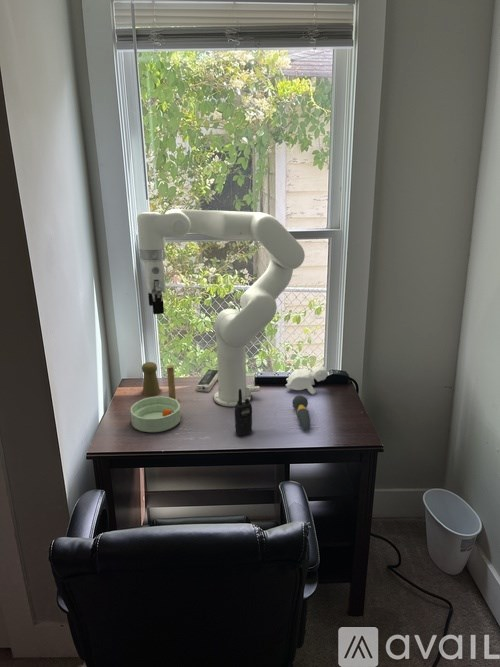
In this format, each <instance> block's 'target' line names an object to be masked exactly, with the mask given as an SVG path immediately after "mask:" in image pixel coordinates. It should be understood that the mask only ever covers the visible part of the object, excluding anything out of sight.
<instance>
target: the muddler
mask: <svg viewBox="0 0 500 667" xmlns="http://www.w3.org/2000/svg"><path fill="white" fill-rule="evenodd" d="M166 372H167V387H168V388H167V389H168V397H170V398H173V399H175V400H177V401H178V398H177V396H176V383H175V382H176V379H175V367H174V365H167V366H166Z"/></svg>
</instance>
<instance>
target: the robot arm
mask: <svg viewBox="0 0 500 667" xmlns="http://www.w3.org/2000/svg"><path fill="white" fill-rule="evenodd" d="M136 221H137V222H136V223H137V234H138V235H137V236H138V248H139V250H138V251H139V258H140V259H139V260H140V261H141V262H143V264H144V274H145V285H146V289H147V290H148V294H147V295H148V297H147V298H148V306H150V307H152V314H153V315H163V314H165V309H164V308H165V306H164V298H163V294H165V293H166V292H167V288H166V276H165V268H164V261H165V260H166V259H167V258H166V243H165V238H172V239H173V238H175V239H179V238H181V239H182V238H184V237H185V236H187V235H189V234H190V235H191V234H193V235H203V236H208V237H211V238H214V239H219V240H242V241H243V240H244V241H245V240H246V241H258V242H259V243H260V244H261V245H262V246H263V247H264V249H266V251H267V252H268V254H269V263H268V266H267V269H266V270H265V272H263V274H262V275H261V276H260V277H259V278H258V279H257V280H255V281H254V282H253V284H251V285H250V286H249V287H248V288H247V290H245V291H244V292H243V294H242V295H241V297H240V300H239V305H240V307H241V310H240V311H238V310H236V309H234V308H225V309H223V310H221V311H220V312H219V313H218V314H217V316H216V317H215V320H214V332H215V333H214V334H215V340H216V354H217V355H216V359H217V361H216V362H217V370H218V379H217V389H218V391H216V392H215V393H214V395H213V399H214V402H215V403H217V404H218V405H220V406H223V407H235V405H237V402H238V401H239V389H241V392H242V402H245V399H249V402H250V401H251V399H252V395H251V394H252V393H259V392H261V388H260V386H259V385H256V386H255V384H254V383H253V384H247V358H246V356H247V348H246V347H247V346H246V345H248V344H249V343H250V342H251V341H252V340H254V338H256V337H257V336H258V335H259V334H260V333H261V332H262V331H263V330H264V329H265V328H266V327H267V326H268V325H269V324H270V323H271V322H272V321H273V319H274V317H275V316H276V314H277V310H278V308H277V307H278V306H277V302H276V299H277V298H278V297H279V296H280V295H281V294H282V293H283V292H284V291H285V290H286V288H287V287H288V285H289V284H290V283H291V280H292V277H293V272H294V270H296V269H298V268H300V267H301V266H302V264H303V263H304V261H305V255H306V254H305V249H304V248H303V246H302V245H301V243H300V242H299V241H298V240H297V239H296V238H295V237H294V236H293V235H292V234H291V233H290V232H289V231H288V230H287V229H286V227H285V226H284V225H283V224H282V223H281V221H279V220H278V218H276V217H275V216H273V215H271V214H268V213H266V212H258V211H256V212H255V211H234V210H233V211H231V210H205V209H204V210H203V209H187V208H185V209H184V208H172V209H168V210H166V211H165V212H164V213H160V212H158V211H144V212H140V213H138V214H137V218H136Z"/></svg>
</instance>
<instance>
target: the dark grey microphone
mask: <svg viewBox="0 0 500 667" xmlns="http://www.w3.org/2000/svg"><path fill="white" fill-rule="evenodd" d="M291 403H292V407H293V408H294V410H296V416H297V420H298V423H299V425H300V427H301V428H302V429H303V430H304V431H309V429H310V426H311V418H310V412H309V410H308V409H307V407H308V406H309V401H308V398H307V397H305V396H304V395H302V394H298V395H295V396H294V398H293V399H292V402H291Z"/></svg>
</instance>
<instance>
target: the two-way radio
mask: <svg viewBox="0 0 500 667" xmlns="http://www.w3.org/2000/svg"><path fill="white" fill-rule="evenodd" d="M252 406H253V405H252V404H251V402H250V401H249V399H245V402H242V392H241V389H239V401H238V402H237V405H235V406H234V429H235V435H236V436H238V437H243V436H246V435H249V434H252V432H253V407H252Z"/></svg>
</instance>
